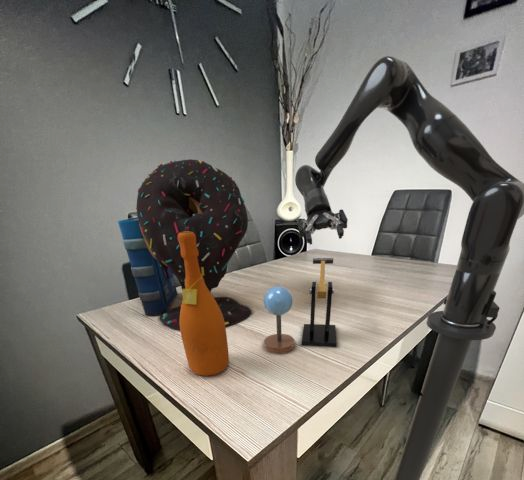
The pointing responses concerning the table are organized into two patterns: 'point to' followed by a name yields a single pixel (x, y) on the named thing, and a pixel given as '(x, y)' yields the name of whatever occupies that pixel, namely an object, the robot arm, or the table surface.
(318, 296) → the yellow switch lever
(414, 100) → the robot arm
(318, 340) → the stand
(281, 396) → the table surface
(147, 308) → the book
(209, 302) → the wine bottle
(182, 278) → the dark brown sprinkled donut
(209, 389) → the table surface
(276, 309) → the blue lamp
